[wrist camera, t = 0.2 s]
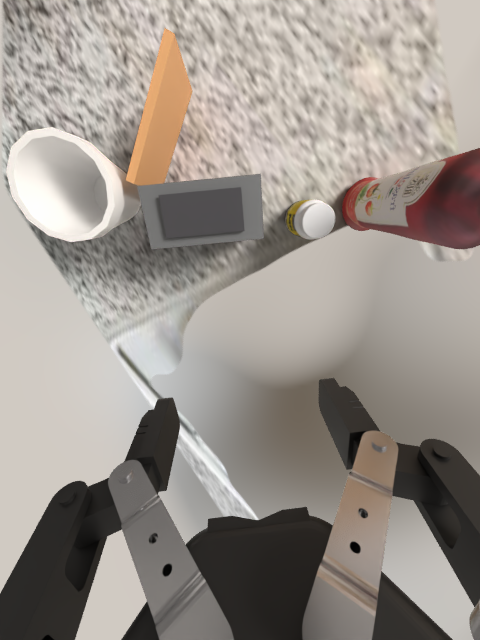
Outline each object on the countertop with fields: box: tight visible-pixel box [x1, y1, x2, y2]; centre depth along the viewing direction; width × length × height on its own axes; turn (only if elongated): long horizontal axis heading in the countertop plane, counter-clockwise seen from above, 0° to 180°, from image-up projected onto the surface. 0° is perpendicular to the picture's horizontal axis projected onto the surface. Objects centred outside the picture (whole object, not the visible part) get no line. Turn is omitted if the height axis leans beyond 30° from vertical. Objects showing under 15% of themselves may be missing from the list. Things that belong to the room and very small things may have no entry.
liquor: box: [342, 148, 480, 249], centre depth 24 cm, size 7×7×28 cm
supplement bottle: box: [285, 200, 335, 240], centre depth 34 cm, size 5×5×8 cm
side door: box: [126, 28, 192, 186], centre depth 28 cm, size 1×12×11 cm, turn 155°
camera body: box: [137, 174, 264, 249], centre depth 31 cm, size 6×12×13 cm, turn 95°
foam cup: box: [6, 127, 141, 242], centre depth 30 cm, size 10×9×13 cm
